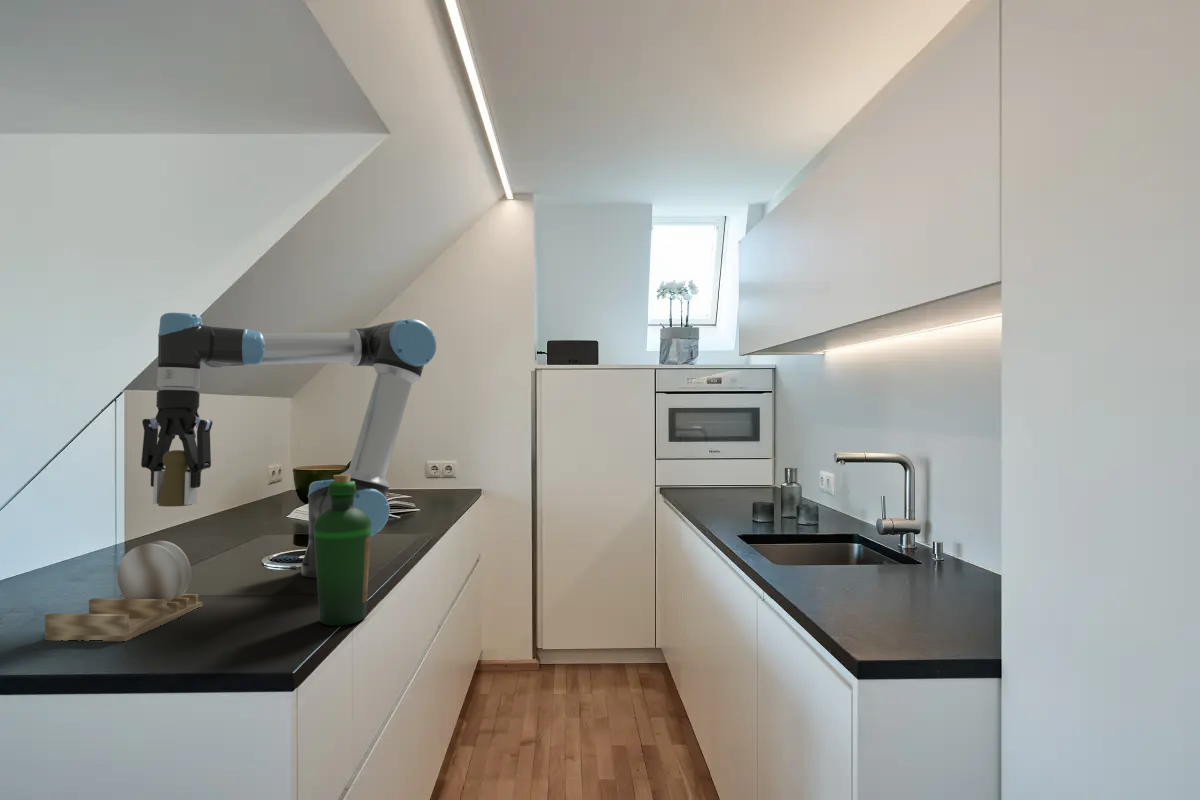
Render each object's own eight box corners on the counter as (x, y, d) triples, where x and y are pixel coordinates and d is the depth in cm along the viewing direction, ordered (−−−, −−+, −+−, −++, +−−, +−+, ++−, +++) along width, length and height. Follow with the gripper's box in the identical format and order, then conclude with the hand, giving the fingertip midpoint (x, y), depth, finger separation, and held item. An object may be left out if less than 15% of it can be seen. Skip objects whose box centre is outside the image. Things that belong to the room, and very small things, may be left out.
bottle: (383, 615, 142) (382, 473, 142) (347, 631, 132) (346, 478, 132) (338, 610, 145) (337, 472, 145) (300, 626, 135) (300, 477, 135)
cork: (168, 502, 148) (170, 449, 148) (198, 503, 149) (200, 449, 149) (151, 506, 142) (153, 450, 142) (183, 506, 142) (185, 451, 143)
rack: (202, 606, 149) (202, 539, 149) (124, 641, 127) (124, 562, 127) (133, 605, 150) (133, 538, 150) (44, 640, 128) (44, 561, 128)
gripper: (121, 388, 143) (117, 504, 142) (210, 389, 141) (207, 507, 141) (148, 389, 150) (144, 500, 150) (233, 390, 149) (230, 502, 148)
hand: (174, 503), depth 145 cm, fingers closed on cork, 6 cm apart
